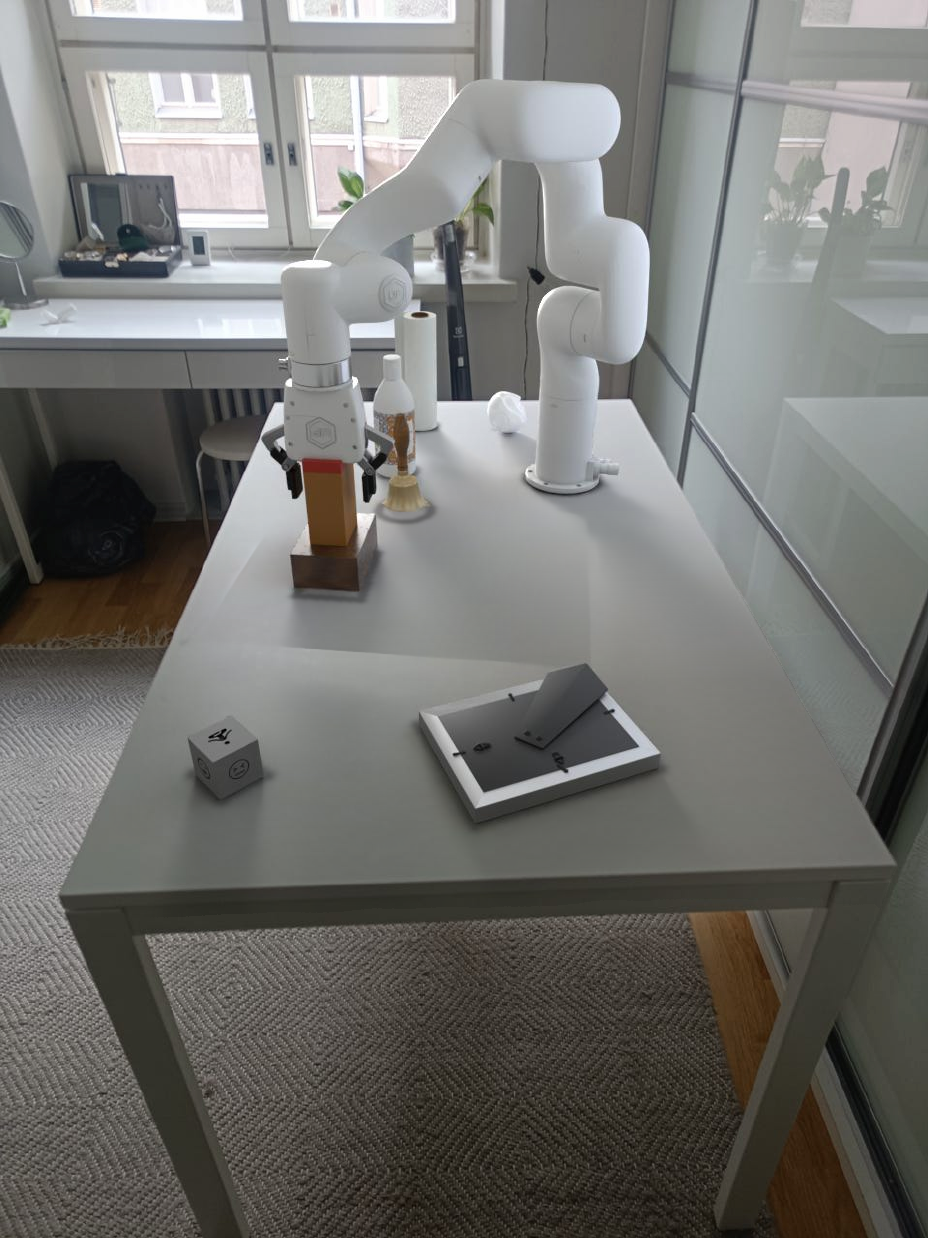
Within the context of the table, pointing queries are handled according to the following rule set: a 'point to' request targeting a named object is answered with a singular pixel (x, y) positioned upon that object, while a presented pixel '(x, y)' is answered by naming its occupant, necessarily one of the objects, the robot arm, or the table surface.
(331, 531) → the container
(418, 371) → the paper towel roll
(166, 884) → the table surface
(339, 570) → the walnut box
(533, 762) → the picture frame
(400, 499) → the hand bell
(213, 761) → the dice cube
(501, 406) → the crumpled paper ball
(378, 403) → the bath foam
